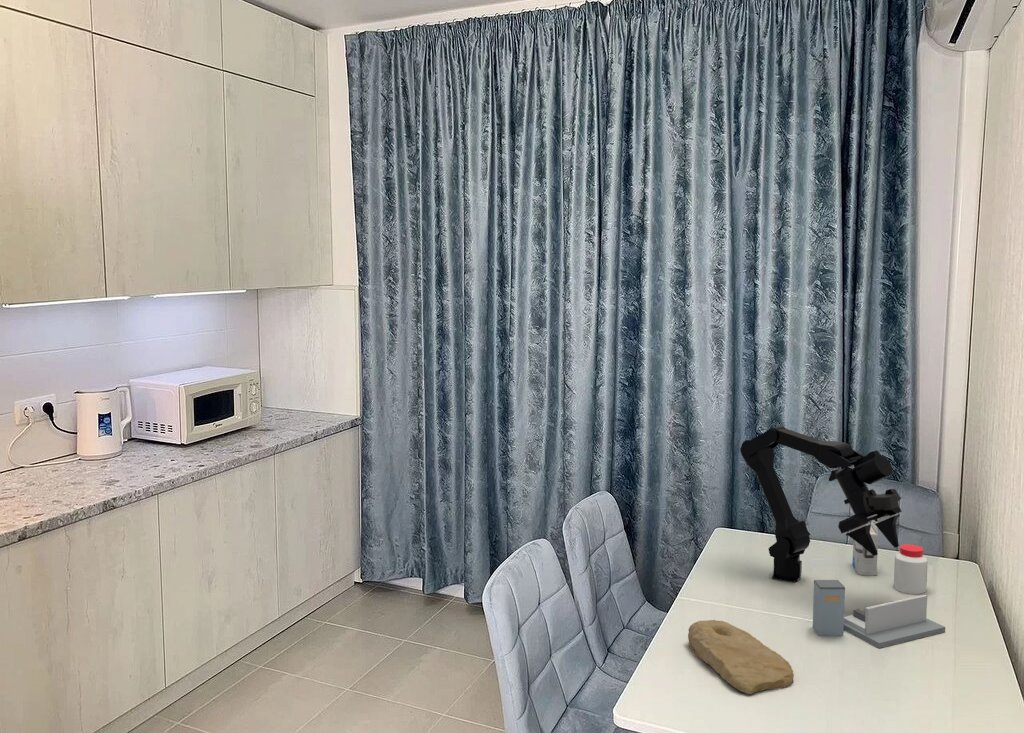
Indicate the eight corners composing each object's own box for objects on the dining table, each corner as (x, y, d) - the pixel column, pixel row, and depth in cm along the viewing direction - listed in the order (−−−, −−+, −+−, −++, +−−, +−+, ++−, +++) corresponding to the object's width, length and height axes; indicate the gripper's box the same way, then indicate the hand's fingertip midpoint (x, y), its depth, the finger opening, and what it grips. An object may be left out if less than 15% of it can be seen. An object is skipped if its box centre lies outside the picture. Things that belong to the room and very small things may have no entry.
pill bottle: (894, 592, 218) (895, 550, 217) (892, 581, 225) (894, 541, 224) (927, 596, 215) (929, 554, 214) (925, 585, 222) (927, 544, 221)
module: (812, 626, 199) (814, 579, 197) (836, 627, 198) (838, 579, 197) (819, 635, 194) (820, 587, 193) (843, 635, 194) (845, 587, 192)
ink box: (851, 564, 239) (853, 513, 237) (870, 565, 238) (872, 513, 236) (857, 575, 230) (859, 522, 228) (877, 576, 229) (879, 523, 227)
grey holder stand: (832, 623, 200) (833, 594, 199) (896, 609, 208) (897, 581, 207) (879, 648, 187) (880, 617, 186) (945, 631, 195) (946, 601, 194)
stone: (740, 702, 167) (742, 675, 166) (678, 642, 191) (679, 618, 191) (806, 692, 172) (809, 665, 171) (737, 635, 196) (739, 612, 195)
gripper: (860, 485, 199) (892, 549, 194) (903, 473, 210) (935, 532, 204) (824, 502, 207) (854, 563, 202) (867, 489, 218) (897, 547, 213)
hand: (886, 551), depth 205 cm, fingers open, 9 cm apart
